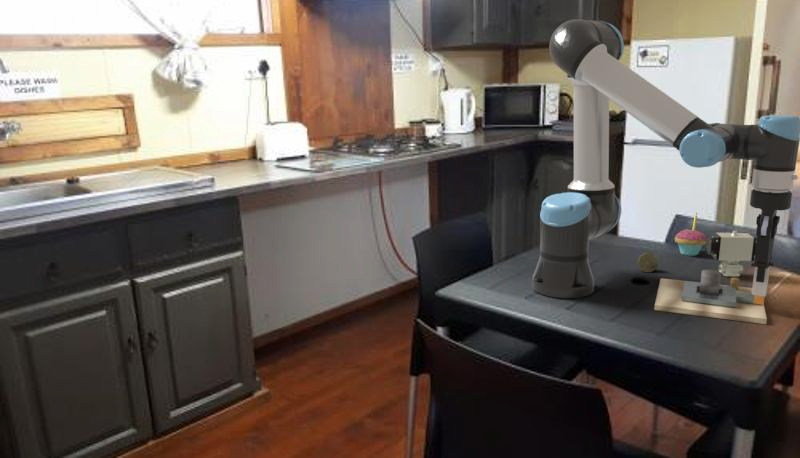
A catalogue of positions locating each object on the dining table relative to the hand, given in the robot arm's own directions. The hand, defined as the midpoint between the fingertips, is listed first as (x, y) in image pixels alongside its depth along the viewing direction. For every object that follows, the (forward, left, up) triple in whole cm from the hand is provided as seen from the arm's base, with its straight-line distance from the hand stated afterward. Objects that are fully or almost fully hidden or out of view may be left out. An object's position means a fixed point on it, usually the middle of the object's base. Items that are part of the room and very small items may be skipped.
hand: (758, 294), depth 137 cm
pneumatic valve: (-5, +26, -4) cm, 26 cm away
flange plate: (-7, +2, -3) cm, 8 cm away
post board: (-10, +3, -4) cm, 11 cm away
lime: (-25, +22, -4) cm, 33 cm away
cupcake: (-15, +43, -4) cm, 45 cm away
